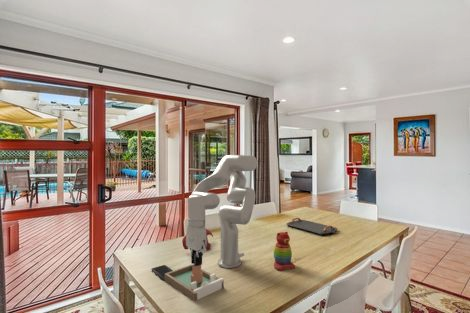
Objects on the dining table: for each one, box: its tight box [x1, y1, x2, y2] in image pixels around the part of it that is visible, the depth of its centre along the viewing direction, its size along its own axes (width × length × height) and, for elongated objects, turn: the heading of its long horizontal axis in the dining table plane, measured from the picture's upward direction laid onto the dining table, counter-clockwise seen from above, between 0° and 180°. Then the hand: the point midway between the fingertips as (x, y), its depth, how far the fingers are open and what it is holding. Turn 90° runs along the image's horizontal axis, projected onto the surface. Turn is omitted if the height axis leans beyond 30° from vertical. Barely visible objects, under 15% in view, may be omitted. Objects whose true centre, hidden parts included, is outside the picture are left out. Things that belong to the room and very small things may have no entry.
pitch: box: [164, 263, 225, 302], centre depth 118 cm, size 15×24×5 cm, turn 44°
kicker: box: [191, 253, 203, 284], centre depth 116 cm, size 5×2×13 cm, turn 134°
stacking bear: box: [273, 231, 296, 272], centre depth 137 cm, size 11×10×18 cm
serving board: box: [286, 217, 338, 237], centre depth 207 cm, size 39×23×6 cm, turn 37°
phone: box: [151, 264, 174, 282], centre depth 129 cm, size 8×1×15 cm
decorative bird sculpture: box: [181, 228, 214, 251], centre depth 163 cm, size 28×9×15 cm
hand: (196, 263), depth 116 cm, fingers closed on kicker, 2 cm apart
